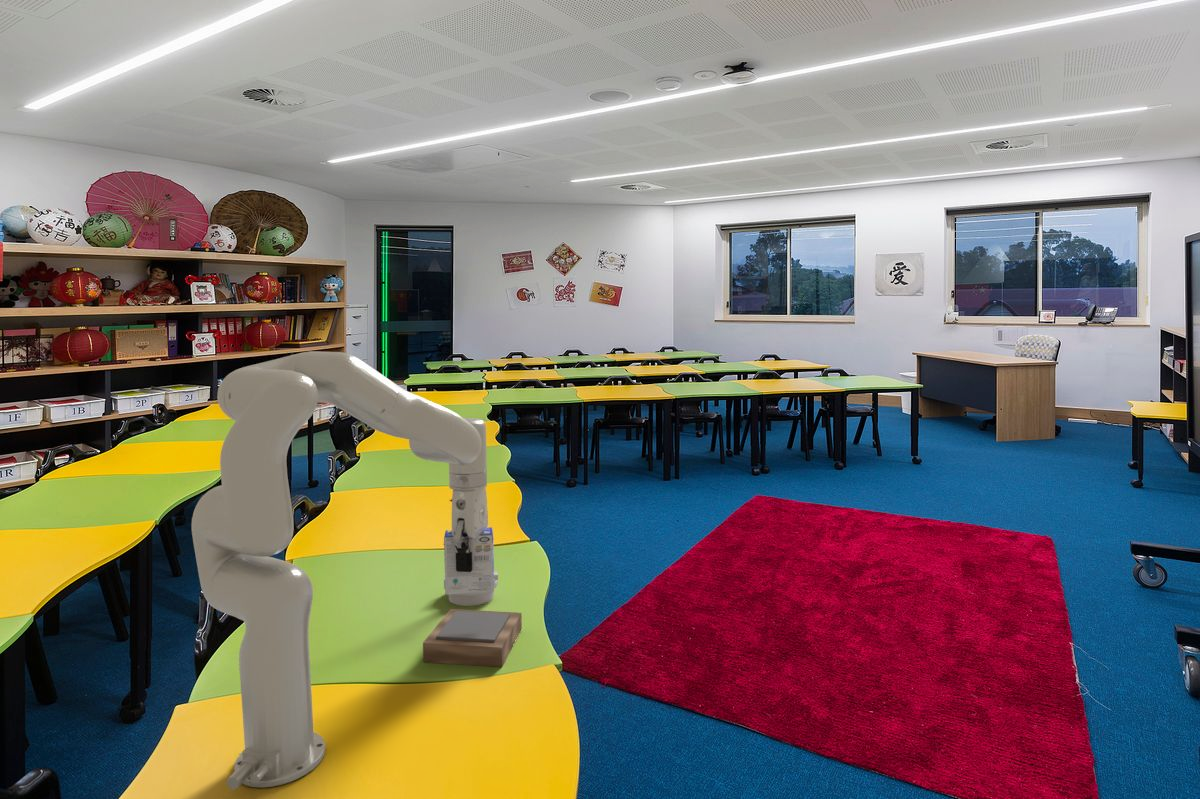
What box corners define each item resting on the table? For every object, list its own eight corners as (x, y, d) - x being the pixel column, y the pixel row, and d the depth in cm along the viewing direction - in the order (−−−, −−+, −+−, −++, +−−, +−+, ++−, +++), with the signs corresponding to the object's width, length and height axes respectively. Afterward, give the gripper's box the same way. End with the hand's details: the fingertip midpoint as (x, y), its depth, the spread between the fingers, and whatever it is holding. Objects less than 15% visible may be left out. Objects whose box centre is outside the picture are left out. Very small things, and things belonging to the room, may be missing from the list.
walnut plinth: (502, 667, 132) (501, 645, 132) (423, 661, 134) (422, 640, 134) (521, 630, 148) (521, 610, 148) (451, 626, 150) (450, 606, 150)
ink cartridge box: (493, 582, 143) (492, 515, 142) (494, 592, 138) (493, 523, 136) (446, 585, 142) (444, 517, 140) (445, 596, 136) (443, 526, 135)
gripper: (473, 490, 128) (474, 581, 130) (497, 470, 145) (498, 551, 147) (434, 489, 129) (437, 579, 131) (463, 469, 146) (465, 550, 148)
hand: (469, 564), depth 139 cm, fingers closed on ink cartridge box, 6 cm apart
